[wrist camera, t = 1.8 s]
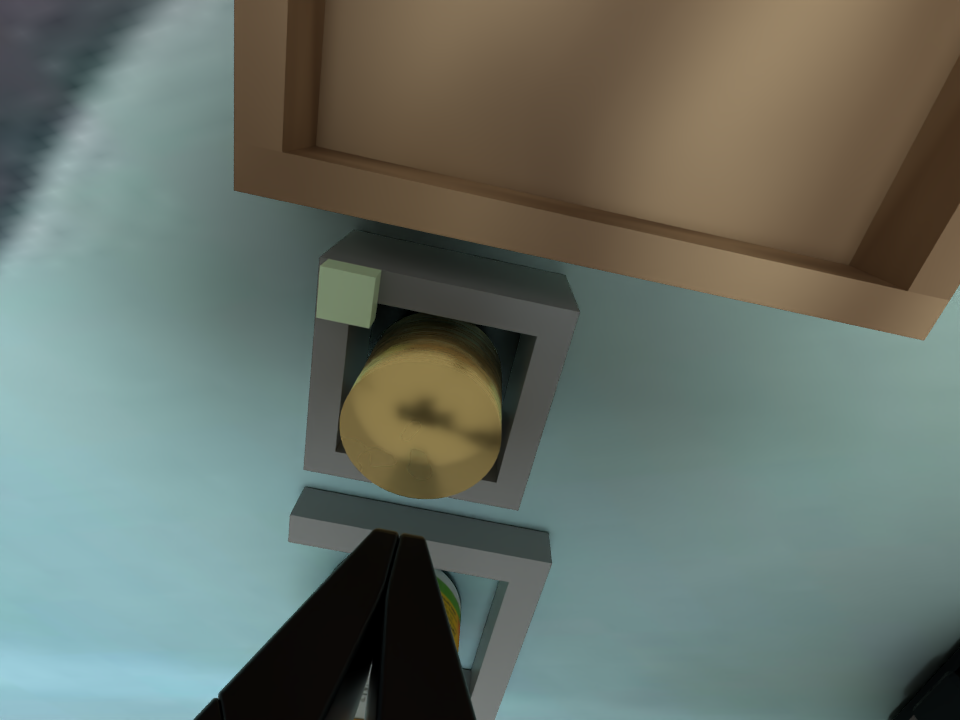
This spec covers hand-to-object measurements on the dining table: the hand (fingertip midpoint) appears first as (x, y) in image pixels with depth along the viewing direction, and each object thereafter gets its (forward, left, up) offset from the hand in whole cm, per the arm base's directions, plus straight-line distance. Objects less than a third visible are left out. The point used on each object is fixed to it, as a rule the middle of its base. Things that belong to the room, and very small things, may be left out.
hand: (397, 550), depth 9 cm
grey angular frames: (0, +6, -8) cm, 10 cm away
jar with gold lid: (0, 0, -6) cm, 6 cm away
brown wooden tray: (-3, -9, -8) cm, 12 cm away
